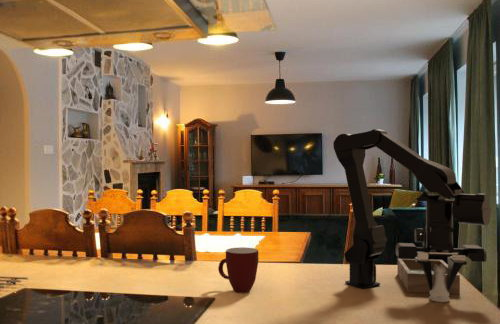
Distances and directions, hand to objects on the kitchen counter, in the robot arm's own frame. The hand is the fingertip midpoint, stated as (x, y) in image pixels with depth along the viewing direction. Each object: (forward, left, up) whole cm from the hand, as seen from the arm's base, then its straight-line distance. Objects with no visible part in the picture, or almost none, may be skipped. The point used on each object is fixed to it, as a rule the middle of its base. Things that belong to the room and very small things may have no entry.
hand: (439, 289), depth 108 cm
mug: (-35, +32, -3) cm, 47 cm away
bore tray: (+10, +11, -2) cm, 15 cm away
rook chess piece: (0, 0, -3) cm, 3 cm away
